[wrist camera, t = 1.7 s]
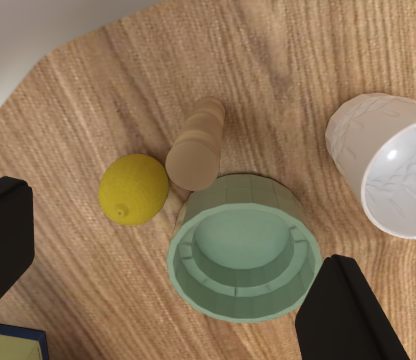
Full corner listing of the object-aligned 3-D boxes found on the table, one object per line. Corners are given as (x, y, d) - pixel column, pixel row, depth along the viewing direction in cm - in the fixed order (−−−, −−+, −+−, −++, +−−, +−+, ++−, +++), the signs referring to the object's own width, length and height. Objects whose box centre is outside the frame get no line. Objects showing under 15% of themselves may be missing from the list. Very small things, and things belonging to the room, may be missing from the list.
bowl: (168, 262, 34) (156, 305, 29) (192, 156, 28) (182, 185, 23) (281, 288, 34) (290, 335, 29) (327, 189, 29) (349, 225, 23)
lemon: (107, 158, 29) (66, 199, 22) (154, 131, 27) (127, 166, 20) (141, 202, 31) (113, 253, 24) (186, 180, 29) (171, 227, 22)
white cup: (299, 128, 26) (333, 177, 17) (382, 62, 24) (476, 79, 15) (349, 189, 28) (403, 260, 19) (431, 135, 26) (539, 188, 17)
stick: (190, 124, 27) (161, 184, 16) (196, 93, 26) (170, 135, 15) (220, 132, 27) (212, 196, 16) (228, 101, 26) (225, 148, 15)
